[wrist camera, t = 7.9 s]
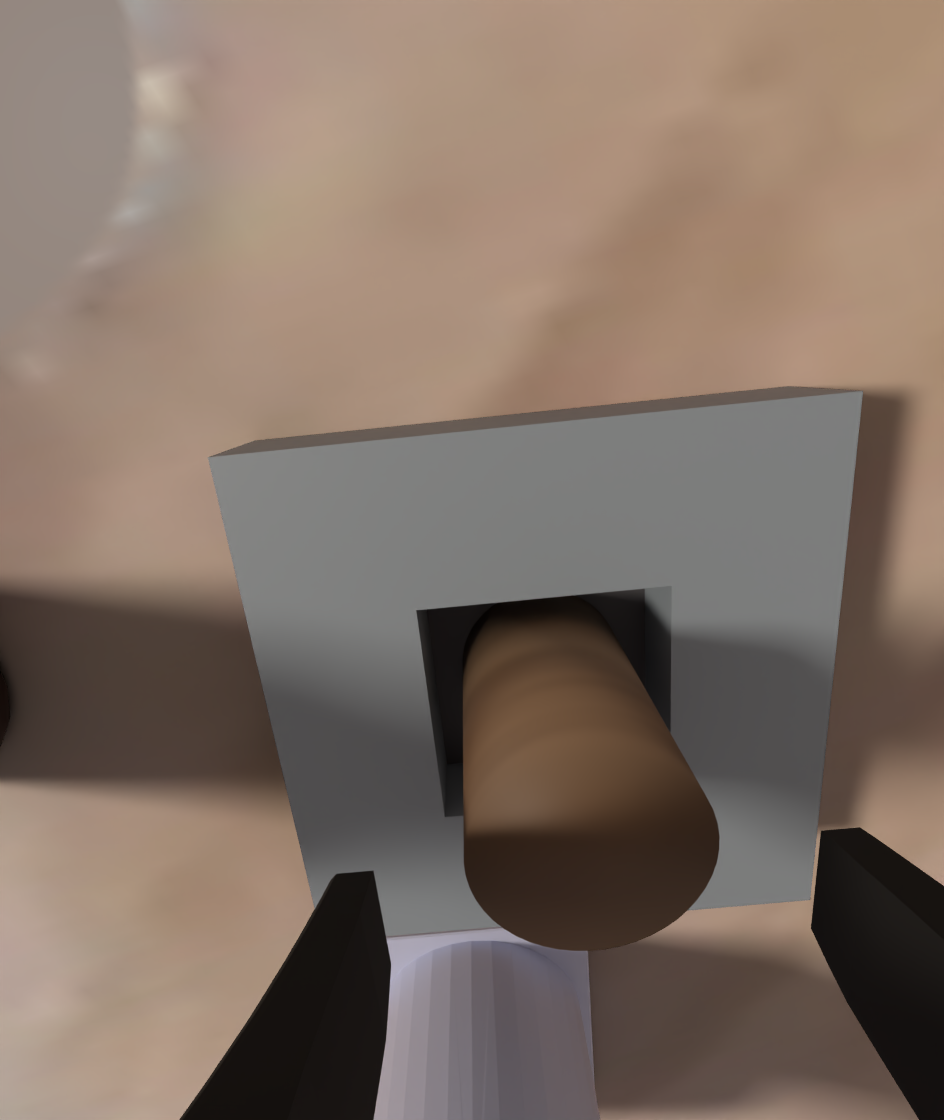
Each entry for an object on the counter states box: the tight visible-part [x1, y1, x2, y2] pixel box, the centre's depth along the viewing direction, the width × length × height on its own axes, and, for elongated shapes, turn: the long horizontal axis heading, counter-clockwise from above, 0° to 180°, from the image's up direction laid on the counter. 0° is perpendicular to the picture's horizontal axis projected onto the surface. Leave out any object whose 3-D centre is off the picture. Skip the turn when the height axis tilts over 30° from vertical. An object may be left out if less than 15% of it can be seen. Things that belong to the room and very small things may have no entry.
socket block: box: [208, 386, 863, 936], centre depth 16 cm, size 14×14×3 cm
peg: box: [463, 595, 720, 951], centre depth 13 cm, size 4×4×7 cm
